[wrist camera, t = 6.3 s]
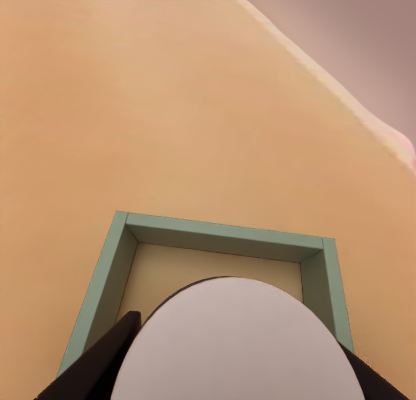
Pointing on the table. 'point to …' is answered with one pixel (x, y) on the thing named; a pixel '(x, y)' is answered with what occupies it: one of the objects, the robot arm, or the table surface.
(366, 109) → the table surface
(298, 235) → the box
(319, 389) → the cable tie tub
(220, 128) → the table surface
